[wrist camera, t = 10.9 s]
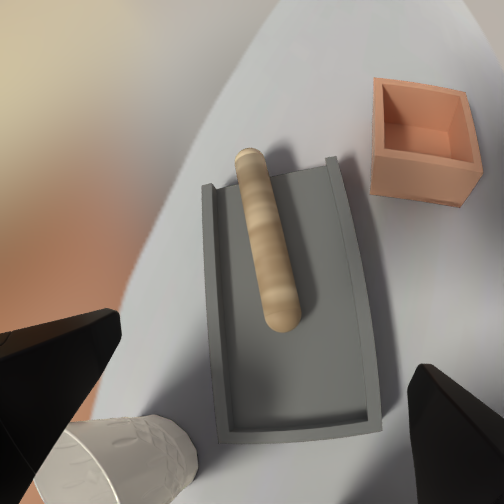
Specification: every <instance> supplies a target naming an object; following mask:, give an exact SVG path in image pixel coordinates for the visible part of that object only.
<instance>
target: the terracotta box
mask: <svg viewBox="0 0 504 504" xmlns="http://www.w3.org/2000/svg"><path fill="white" fill-rule="evenodd" d="M482 175H483V168H482V162H481V156H480V151H479V146H478V141H477V136H476V131H475V127H474V123H473V119H472V115H471V111H470V107H469V103H468V100H467V96H466V93H465V92H462V91H457V90H452V89H448V88H443V87H438V86H432V85H426V84H420V83H414V82H407V81H400V80H392V79H383V78H374V84H373V115H372V163H371V185H370V194H371V195H379V196H387V197H394V198H402V199H409V200H416V201H422V202H429V203H435V204H441V205H447V206H453V207H459V208H460V207H461V206H462V204H463V203H464V201H465V200H466V199H467V197H468V196H469V194H470V193H471V191H472V190H473V188H474V187H475V185H476V184H477V182H478V181H479V179H480V178H481V176H482Z"/></svg>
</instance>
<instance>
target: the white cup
mask: <svg viewBox="0 0 504 504" xmlns="http://www.w3.org/2000/svg"><path fill="white" fill-rule="evenodd" d="M197 470H198V459H197V451H196V449H195V447H194V445H193V443H192V442H191V440H190V438H189V436H188V434H187V433H186V432H185V431H184V430H183V429H181V428H180V427H179V426H178V425H177V424H175V423H174V422H173V421H172V420H169V419H166V418H163V417H161V416H158V415H147V416H140V417H132V418H129V417H121V418H110V419H97V420H89V421H79V422H69V424H68V425H67V427H66V428H65V430H64V431H63V433H62V434H61V436H60V438H59V439H58V441H57V442H56V444H55V445H54V447H53V448H52V450H51V451H50V453H49V455H48V456H47V458H46V459H45V461H44V463H43V464H42V466H41V467H40V469H39V471H38V472H37V474H36V476H35V477H34V479H33V480H34V483H35V486H36V488H37V490H38V492H39V494H40V496H41V498H42V500H43V501H44V503H45V504H169V503H170V502H172V501H173V500H174V499H175V497H176V496H177V495H178V494H179V493H180V492H181V491H182V490H183V489H185V488H186V487H187V486H188V485H190V484H191V483H192V482H193V479H194V477H195V475H196V472H197Z"/></svg>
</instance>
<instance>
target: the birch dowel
mask: <svg viewBox="0 0 504 504" xmlns="http://www.w3.org/2000/svg"><path fill="white" fill-rule="evenodd" d="M235 168H236V173H237V178H238V183H239V188H240V194H241V199H242V204H243V209H244V214H245V219H246V224H247V230H248V235H249V240H250V245H251V250H252V255H253V260H254V266H255V271H256V276H257V281H258V286H259V291H260V296H261V302H262V307H263V312H264V317H265V321H266V323H267V325H268V326H269V327H270V328H271V329H272V330H274V331H276V332H281V333H285V332H289V331H291V330H293V329H294V328H296V327H297V325H298V324H299V322H300V320H301V314H302V313H301V307H300V303H299V298H298V294H297V289H296V285H295V280H294V276H293V272H292V267H291V263H290V259H289V254H288V250H287V246H286V242H285V238H284V233H283V229H282V225H281V221H280V217H279V213H278V209H277V205H276V201H275V197H274V193H273V189H272V185H271V181H270V177H269V173H268V170H267V166H266V162H265V158H264V156H263V154H262V153H261V152H260V151H259V150H257V149H254V148H246V149H243V150H241V151H240V152H239V153H238V154H237V156H236V158H235Z"/></svg>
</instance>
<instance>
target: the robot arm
mask: <svg viewBox="0 0 504 504" xmlns="http://www.w3.org/2000/svg"><path fill="white" fill-rule="evenodd" d="M121 336H122V332H121V323H120V315H119V313H118V312H117V311H115V310H112V309H109V308H105V309H101V310H97V311H93V312H89V313H85V314H80V315H76V316H72V317H68V318H64V319H60V320H56V321H52V322H48V323H43V324H39V325H35V326H31V327H27V328H22V329H18V330H14V331H12V332H11V331H10V332H5V333H1V334H0V504H19V503H20V501H21V499H22V497H23V496H24V494H25V492H26V491H27V489H28V487H29V486H30V484H31V482H32V481H33V479H34V477H35V476H36V474H37V472H38V471H39V469H40V467H41V466H42V464H43V463H44V461H45V459H46V458H47V456H48V455H49V453H50V451H51V450H52V448H53V447H54V445H55V444H56V442H57V441H58V439H59V438H60V436H61V434H62V433H63V431H64V430H65V428H66V427H67V425H68V424H69V422H70V421H71V419H72V418H73V416H74V415H75V413H76V412H77V410H78V409H79V407H80V406H81V404H82V403H83V401H84V400H85V399H86V397H87V396H88V394H89V393H90V391H91V390H92V388H93V387H94V385H95V384H96V382H97V381H98V380H99V378H100V377H101V375H102V373H103V371H104V370H105V368H106V366H107V364H108V362H109V361H110V359H111V357H112V355H113V353H114V351H115V350H116V348H117V346H118V344H119V343H120V340H121ZM407 395H408V409H409V428H410V439H411V446H412V453H413V460H414V468H415V477H416V487H417V498H418V504H504V418H502V417H501V416H500V415H498V414H497V413H496V412H495V411H493V410H492V409H491V408H489V407H488V406H487V405H485V404H484V403H483V402H481V401H480V400H479V399H478V398H476V397H475V396H474V395H472V394H471V393H470V392H468V391H467V390H466V389H464V388H463V387H462V386H460V385H459V384H458V383H456V382H455V381H454V380H452V379H451V378H450V377H448V376H447V375H446V374H444V373H443V372H442V371H440V370H439V369H438V368H436V367H435V366H434V365H432V364H419V365H418V366H417V368H416V370H415V373H414V375H413V377H412V379H411V381H410V383H409V385H408V390H407Z"/></svg>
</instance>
